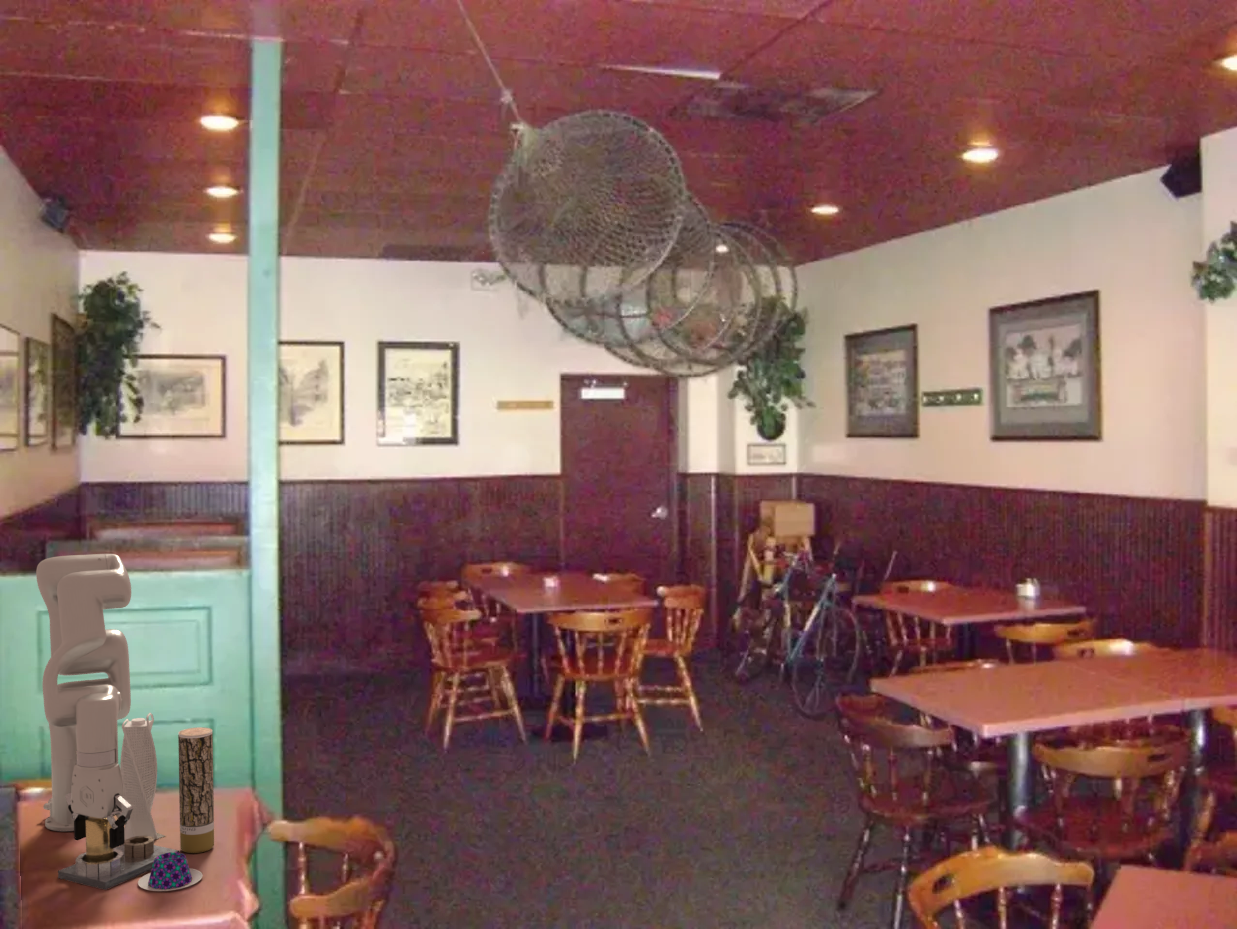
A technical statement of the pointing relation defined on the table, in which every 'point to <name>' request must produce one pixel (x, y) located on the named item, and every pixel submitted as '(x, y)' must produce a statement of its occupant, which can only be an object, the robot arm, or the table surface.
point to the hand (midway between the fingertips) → (99, 842)
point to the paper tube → (196, 789)
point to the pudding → (170, 873)
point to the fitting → (98, 840)
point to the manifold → (116, 864)
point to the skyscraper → (139, 776)
